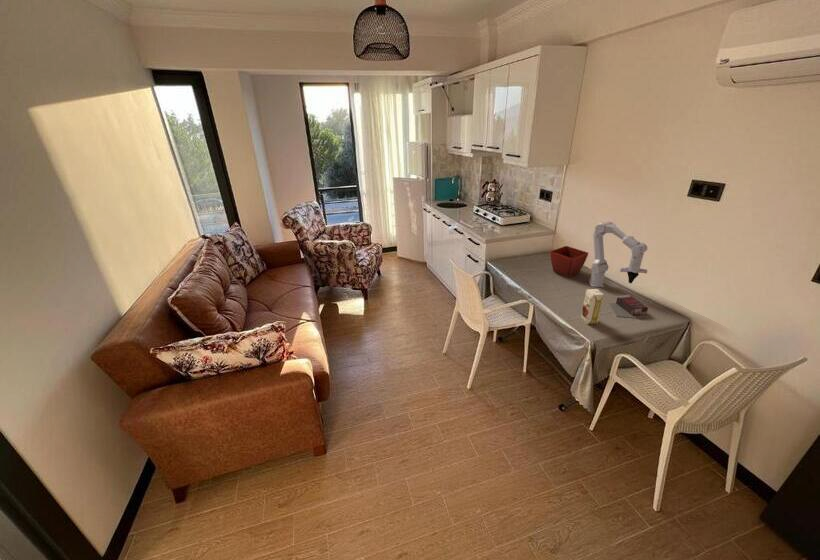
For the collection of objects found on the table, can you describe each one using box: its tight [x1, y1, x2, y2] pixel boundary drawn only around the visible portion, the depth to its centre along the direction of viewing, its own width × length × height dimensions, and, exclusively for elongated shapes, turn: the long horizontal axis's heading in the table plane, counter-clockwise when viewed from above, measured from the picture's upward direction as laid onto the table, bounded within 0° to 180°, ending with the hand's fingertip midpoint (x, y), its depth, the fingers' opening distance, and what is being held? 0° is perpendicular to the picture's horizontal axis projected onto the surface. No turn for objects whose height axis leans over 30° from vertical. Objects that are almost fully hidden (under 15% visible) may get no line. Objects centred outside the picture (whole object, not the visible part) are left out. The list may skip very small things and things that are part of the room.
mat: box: [608, 302, 643, 320], centre depth 197 cm, size 16×13×1 cm
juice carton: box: [580, 288, 605, 325], centre depth 185 cm, size 8×9×19 cm
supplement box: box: [614, 294, 649, 316], centre depth 197 cm, size 9×5×16 cm
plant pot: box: [550, 245, 589, 278], centre depth 245 cm, size 19×19×17 cm
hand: (630, 282), depth 207 cm, fingers closed
